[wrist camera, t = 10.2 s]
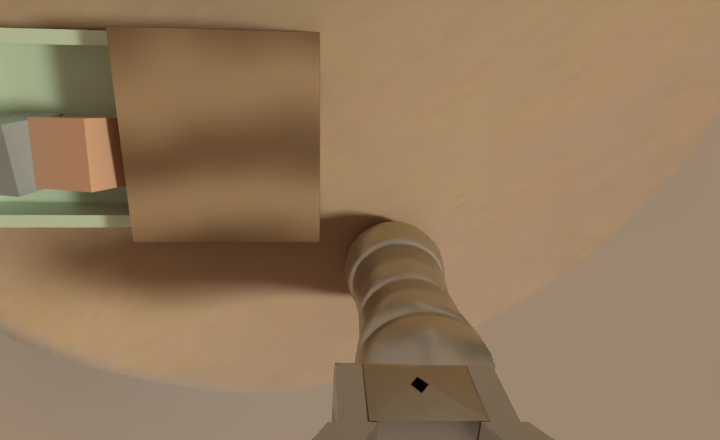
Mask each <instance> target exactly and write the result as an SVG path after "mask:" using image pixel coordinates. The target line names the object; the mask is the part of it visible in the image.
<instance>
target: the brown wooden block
mask: <svg viewBox="0 0 720 440" xmlns="http://www.w3.org/2000/svg"><path fill="white" fill-rule="evenodd" d="M106 34H107V42H108V49H109V57H110V65H111V73H112V81H113V88H114V96H115V104H116V112H117V120H118V127H119V135H120V143H121V151H122V159H123V166H124V174H125V182H126V190H127V198H128V205H129V213H130V221H131V229H132V237H133V242H319V236H320V32H294V31H257V30H220V29H183V28H146V27H109V26H106Z"/></svg>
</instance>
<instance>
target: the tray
mask: <svg viewBox="0 0 720 440" xmlns="http://www.w3.org/2000/svg"><path fill="white" fill-rule="evenodd" d="M8 113H45V114H63V116H117V112H116V104H115V96H114V88H113V81H112V73H111V65H110V57H109V49H108V42H107V34H106V30H68V29H30V28H0V115H1V114H8ZM0 227H131V221H130V213H129V205H128V198H127V190H126V186H122V187H117V188H112V189H106V190H101V191H96V192H79V191H67V190H55V189H43V190H40V191H36V192H33V193H30V194H27V195H24V196H21V197H14V196H2V195H0Z"/></svg>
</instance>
